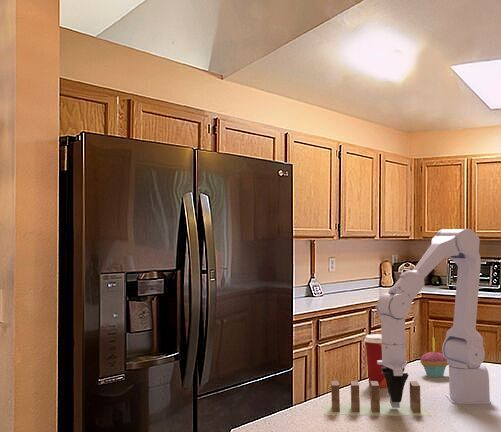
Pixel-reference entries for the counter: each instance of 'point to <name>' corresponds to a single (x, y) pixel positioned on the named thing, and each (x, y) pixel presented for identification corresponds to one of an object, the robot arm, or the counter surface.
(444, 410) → the counter surface
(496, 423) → the counter surface
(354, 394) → the tile
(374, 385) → the tile
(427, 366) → the cupcake
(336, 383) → the tile
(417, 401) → the tile
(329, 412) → the mat
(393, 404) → the tile
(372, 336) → the paper cup
